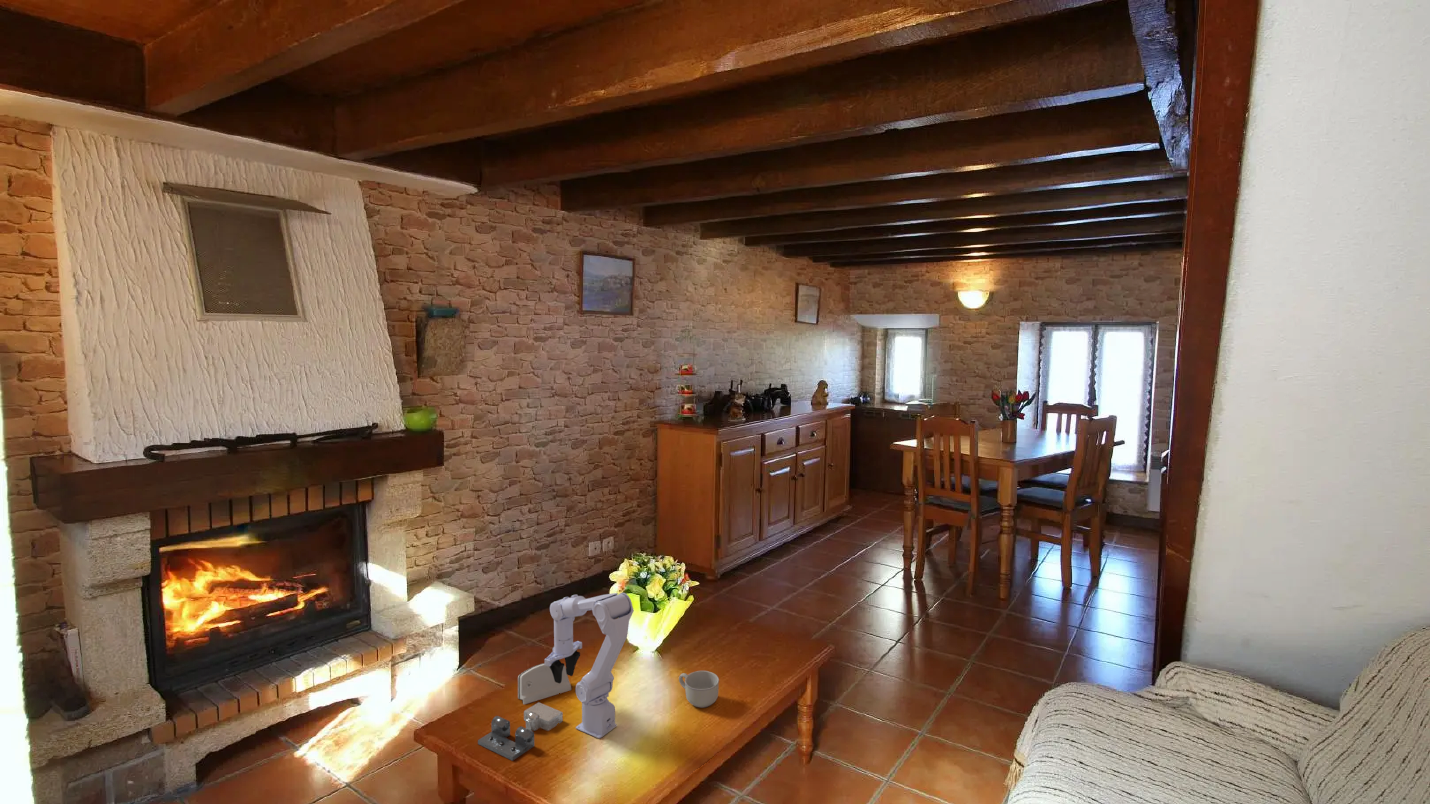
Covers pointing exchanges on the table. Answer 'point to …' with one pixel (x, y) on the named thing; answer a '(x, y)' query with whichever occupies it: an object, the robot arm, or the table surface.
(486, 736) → the fixed leaf
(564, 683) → the grey rounded slab
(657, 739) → the table surface
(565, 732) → the table surface
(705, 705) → the teacup
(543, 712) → the grey boxy piece
